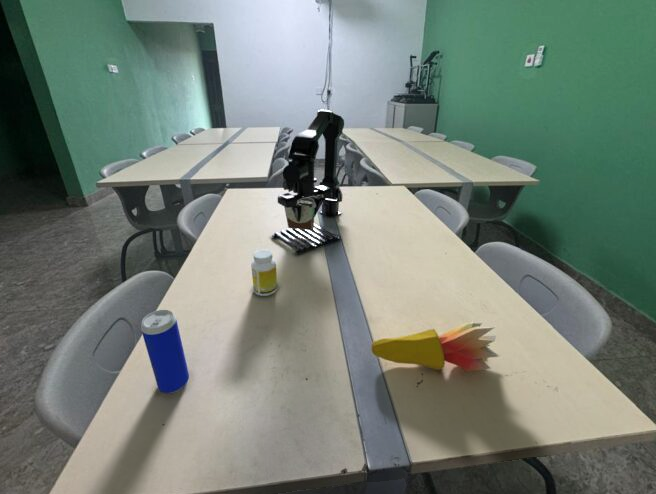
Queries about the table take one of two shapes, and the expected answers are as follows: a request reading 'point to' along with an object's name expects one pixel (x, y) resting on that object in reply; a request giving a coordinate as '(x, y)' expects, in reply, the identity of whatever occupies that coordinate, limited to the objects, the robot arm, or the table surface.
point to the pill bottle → (264, 273)
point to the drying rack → (305, 247)
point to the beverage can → (165, 350)
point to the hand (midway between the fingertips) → (306, 219)
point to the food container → (302, 215)
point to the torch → (440, 348)
